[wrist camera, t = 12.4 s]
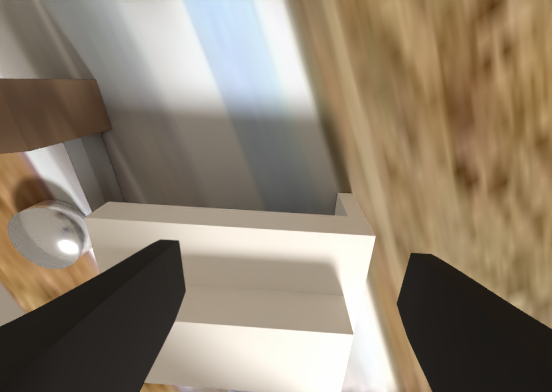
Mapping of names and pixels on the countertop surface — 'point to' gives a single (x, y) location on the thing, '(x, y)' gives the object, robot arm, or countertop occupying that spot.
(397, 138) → the countertop surface
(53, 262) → the steel puck
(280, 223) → the stepped stand
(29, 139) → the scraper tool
